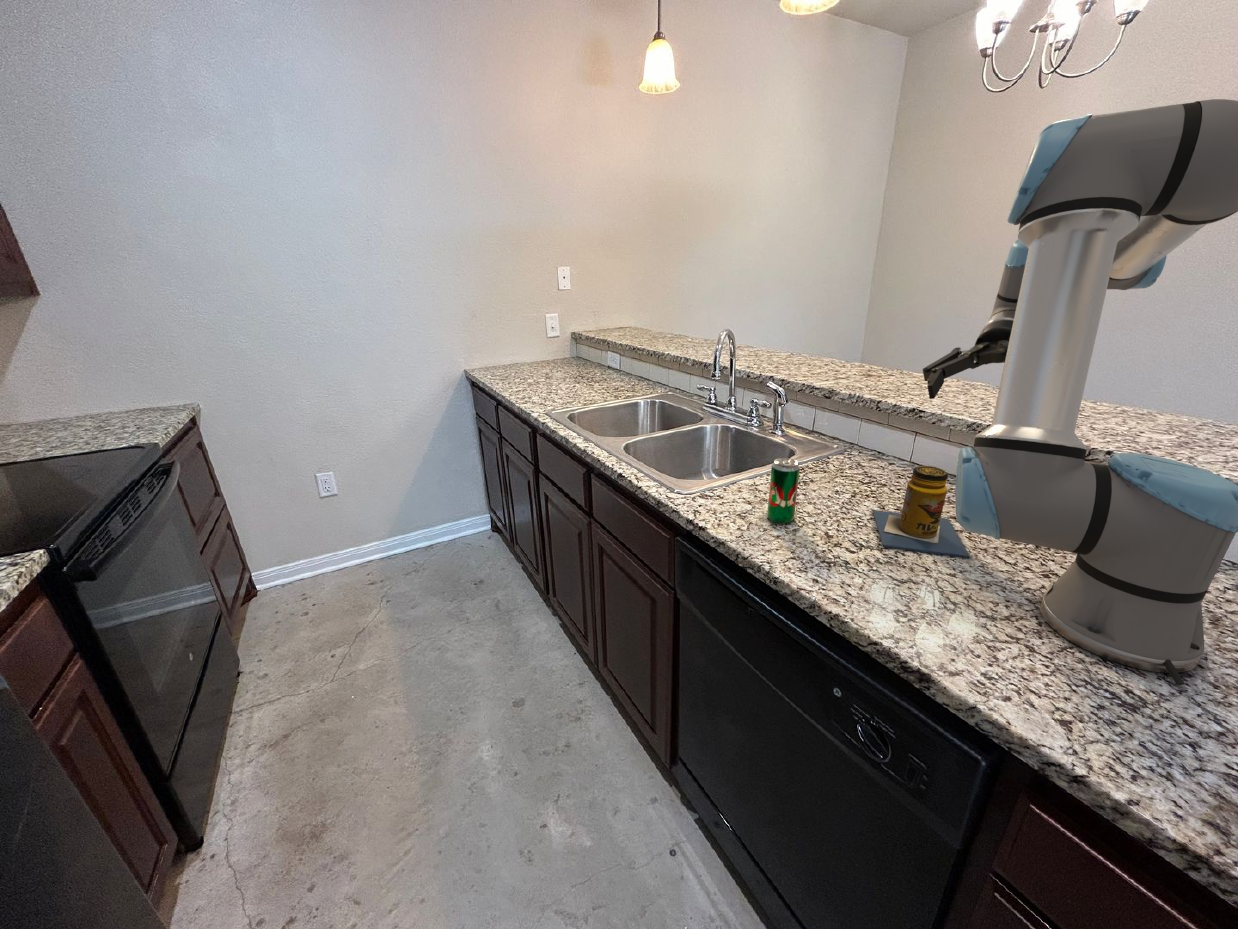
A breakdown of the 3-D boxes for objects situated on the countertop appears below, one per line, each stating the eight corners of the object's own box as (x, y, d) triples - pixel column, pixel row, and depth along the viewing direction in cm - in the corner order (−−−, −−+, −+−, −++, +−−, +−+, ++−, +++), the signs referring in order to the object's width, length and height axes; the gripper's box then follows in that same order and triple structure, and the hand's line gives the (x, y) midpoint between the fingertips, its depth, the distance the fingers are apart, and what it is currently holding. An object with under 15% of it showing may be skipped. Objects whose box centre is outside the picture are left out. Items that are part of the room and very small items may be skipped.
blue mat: (969, 558, 83) (970, 556, 83) (882, 546, 87) (883, 544, 87) (947, 520, 95) (948, 518, 95) (872, 512, 99) (873, 510, 99)
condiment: (937, 544, 86) (952, 480, 82) (883, 532, 91) (895, 471, 87) (939, 527, 92) (954, 466, 88) (888, 516, 97) (899, 458, 92)
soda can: (790, 513, 100) (797, 457, 95) (796, 525, 95) (803, 466, 91) (764, 512, 100) (769, 456, 96) (769, 524, 95) (774, 466, 91)
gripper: (1090, 345, 89) (1073, 403, 78) (933, 363, 108) (901, 411, 97) (1088, 306, 87) (1070, 359, 75) (927, 330, 105) (893, 376, 94)
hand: (975, 389), depth 86 cm, fingers open, 13 cm apart
